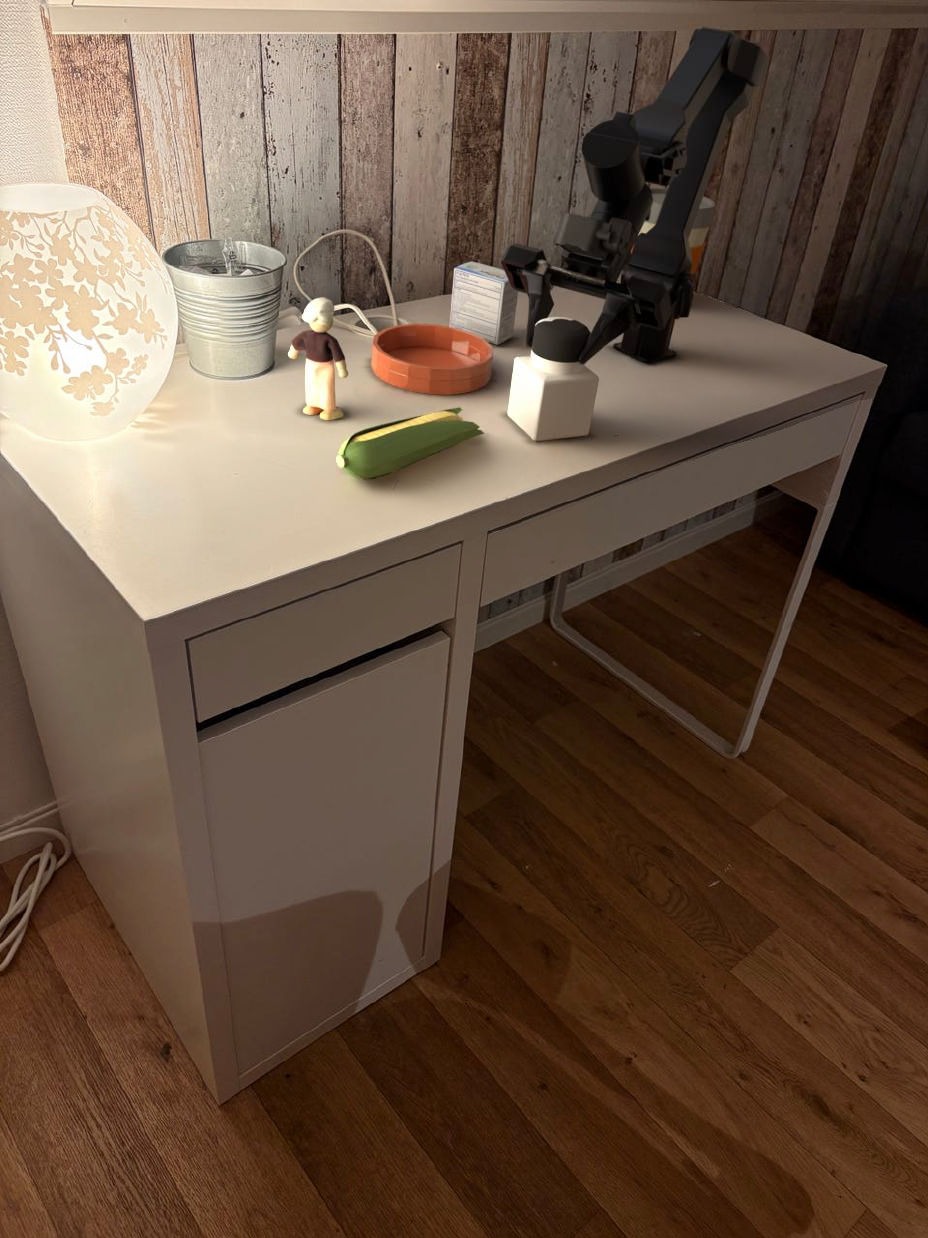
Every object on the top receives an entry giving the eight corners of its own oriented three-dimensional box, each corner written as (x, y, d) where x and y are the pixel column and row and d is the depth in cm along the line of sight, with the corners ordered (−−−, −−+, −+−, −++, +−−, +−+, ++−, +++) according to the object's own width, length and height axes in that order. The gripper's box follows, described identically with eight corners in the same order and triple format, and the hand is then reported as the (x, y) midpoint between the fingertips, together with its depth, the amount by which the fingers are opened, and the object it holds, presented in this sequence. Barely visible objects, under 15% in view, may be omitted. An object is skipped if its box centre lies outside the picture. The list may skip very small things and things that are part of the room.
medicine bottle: (589, 436, 109) (609, 332, 102) (533, 442, 107) (549, 336, 100) (559, 409, 114) (576, 309, 107) (506, 415, 112) (519, 312, 105)
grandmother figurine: (357, 412, 108) (361, 300, 101) (343, 425, 105) (346, 310, 98) (295, 397, 110) (294, 285, 102) (279, 410, 107) (277, 295, 99)
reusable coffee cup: (674, 317, 147) (698, 213, 138) (600, 295, 152) (619, 194, 143) (704, 299, 156) (729, 200, 147) (634, 279, 161) (653, 183, 152)
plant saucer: (440, 340, 129) (442, 316, 127) (515, 381, 120) (518, 356, 118) (348, 358, 121) (348, 333, 119) (420, 403, 112) (422, 377, 110)
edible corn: (322, 474, 96) (323, 432, 93) (464, 426, 108) (468, 388, 106) (356, 495, 93) (357, 452, 91) (497, 444, 106) (502, 405, 103)
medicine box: (513, 338, 133) (522, 274, 127) (497, 346, 129) (504, 281, 124) (465, 322, 136) (471, 259, 130) (447, 330, 132) (453, 266, 127)
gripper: (520, 163, 102) (457, 292, 100) (687, 200, 95) (623, 339, 94) (542, 227, 112) (485, 345, 111) (694, 265, 105) (637, 391, 104)
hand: (553, 354), depth 104 cm, fingers closed on medicine bottle, 6 cm apart
